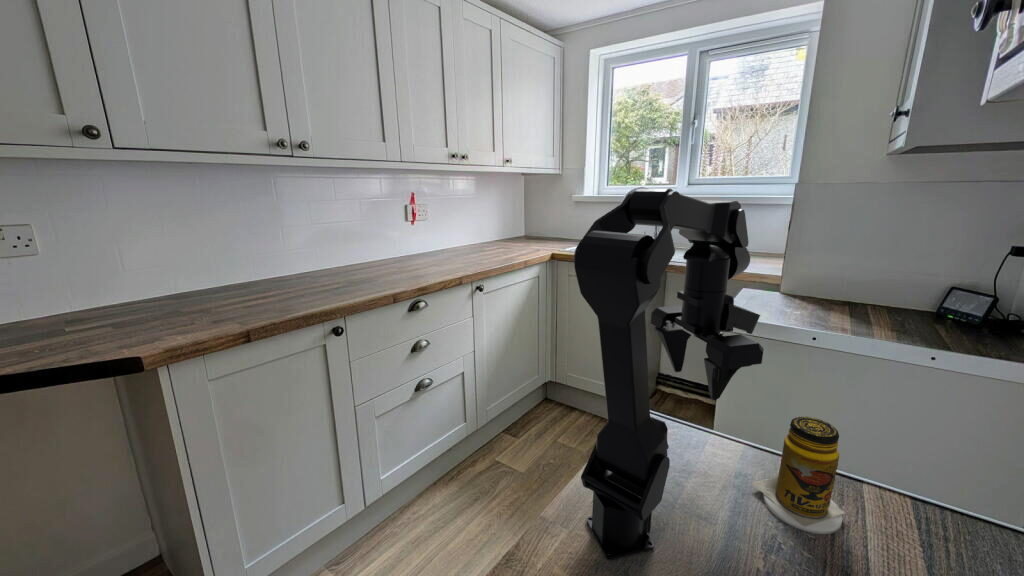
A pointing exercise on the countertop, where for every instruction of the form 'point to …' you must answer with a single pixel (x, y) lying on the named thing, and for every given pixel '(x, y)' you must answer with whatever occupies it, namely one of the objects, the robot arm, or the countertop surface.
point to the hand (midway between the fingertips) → (695, 384)
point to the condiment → (806, 472)
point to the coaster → (818, 528)
